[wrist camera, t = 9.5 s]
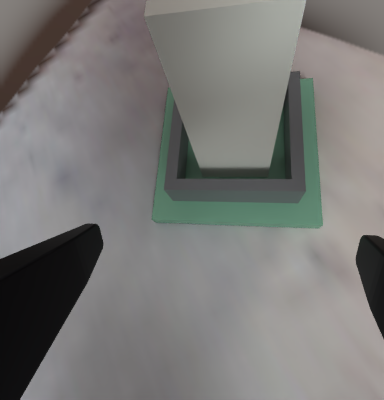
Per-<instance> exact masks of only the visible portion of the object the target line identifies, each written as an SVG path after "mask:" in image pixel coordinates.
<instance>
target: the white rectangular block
mask: <svg viewBox="0 0 384 400" xmlns="http://www.w3.org/2000/svg"><path fill="white" fill-rule="evenodd" d="M305 3H306V0H147V1H146V6H145V12H144V18H145V21H146V24H147V27H148V29H149V32H150V35H151V37H152V40H153V43H154V46H155V48H156V51H157V54H158V56H159V59H160V62H161V65H162V67H163V70H164V73H165V75H166V78H167V81H168V84H169V86H170V89H171V92H172V94H173V97H174V100H175V103H176V105H177V108H178V111H179V113H180V116H181V119H182V122H183V124H184V127H185V130H186V132H187V135H188V138H189V141H190V143H191V146H192V149H193V151H194V154H195V157H196V160H197V162H198V165H199V168H200V170H201V173H202V176H203V177H268V173H269V169H270V164H271V159H272V155H273V150H274V146H275V141H276V136H277V132H278V127H279V123H280V118H281V113H282V109H283V104H284V100H285V95H286V90H287V86H288V81H289V77H290V72H291V67H292V63H293V58H294V54H295V49H296V44H297V40H298V35H299V31H300V26H301V21H302V17H303V12H304V7H305Z"/></svg>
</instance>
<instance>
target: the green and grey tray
mask: <svg viewBox="0 0 384 400" xmlns="http://www.w3.org/2000/svg"><path fill="white" fill-rule="evenodd" d="M152 220H153V221H154V222H157V223H184V224H211V225H239V226H266V227H293V228H320V227H321V226H323V220H322V206H321V191H320V177H319V162H318V148H317V133H316V118H315V104H314V89H313V78H308V79H300V71H297V72H290V77H289V81H288V86H287V90H286V95H285V100H284V104H283V109H282V113H281V118H280V123H279V127H278V132H277V136H276V141H275V146H274V150H273V155H272V159H271V164H270V169H269V173H268V177H203V176H202V173H201V170H200V168H199V165H198V162H197V160H196V157H195V154H194V151H193V149H192V146H191V143H190V141H189V138H188V135H187V132H186V130H185V127H184V124H183V122H182V119H181V116H180V113H179V111H178V108H177V105H176V103H175V100H174V97H173V94H172V92H171V89H170V88H168V93H167V101H166V109H165V117H164V125H163V133H162V141H161V149H160V157H159V165H158V173H157V181H156V189H155V197H154V205H153V213H152Z"/></svg>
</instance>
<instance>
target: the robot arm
mask: <svg viewBox="0 0 384 400" xmlns="http://www.w3.org/2000/svg"><path fill="white" fill-rule="evenodd" d="M102 249H103V239H102V235H101V231H100V228H99V226H98V225H97V224H85V225H82V226H80V227H77V228H75V229H72V230H70V231H67V232H65V233H63V234H60V235H58V236H55V237H53V238H50V239H48V240H45V241H43V242H41V243H38V244H36V245H33V246H31V247H28V248H26V249H24V250H21V251H19V252H16V253H14V254H11V255H9V256H6V257H4V258H2V259H0V400H20V398H21V397H22V395H23V393H24V392H25V390H26V388H27V386H28V385H29V383H30V381H31V379H32V378H33V376H34V374H35V372H36V371H37V369H38V367H39V366H40V364H41V362H42V360H43V359H44V357H45V355H46V353H47V352H48V350H49V348H50V347H51V345H52V343H53V341H54V340H55V338H56V336H57V334H58V333H59V331H60V329H61V327H62V326H63V324H64V322H65V321H66V319H67V317H68V315H69V314H70V312H71V310H72V308H73V307H74V305H75V303H76V302H77V300H78V298H79V296H80V295H81V293H82V291H83V289H84V288H85V286H86V284H87V282H88V280H89V278H90V276H91V274H92V271H93V269H94V267H95V265H96V262H97V260H98V258H99V256H100V253H101V251H102ZM356 264H357V268H358V271H359V274H360V278H361V281H362V284H363V287H364V291H365V294H366V297H367V300H368V303H369V306H370V309H371V311H372V314H373V316H374V318H375V321H376V323H377V325H378V327H379V330H380V332H381V334H382V336H383V339H384V239H383V238H381V237H379V236H376V235H363V236H362V237H361V239H360V242H359V246H358V250H357V255H356Z"/></svg>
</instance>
